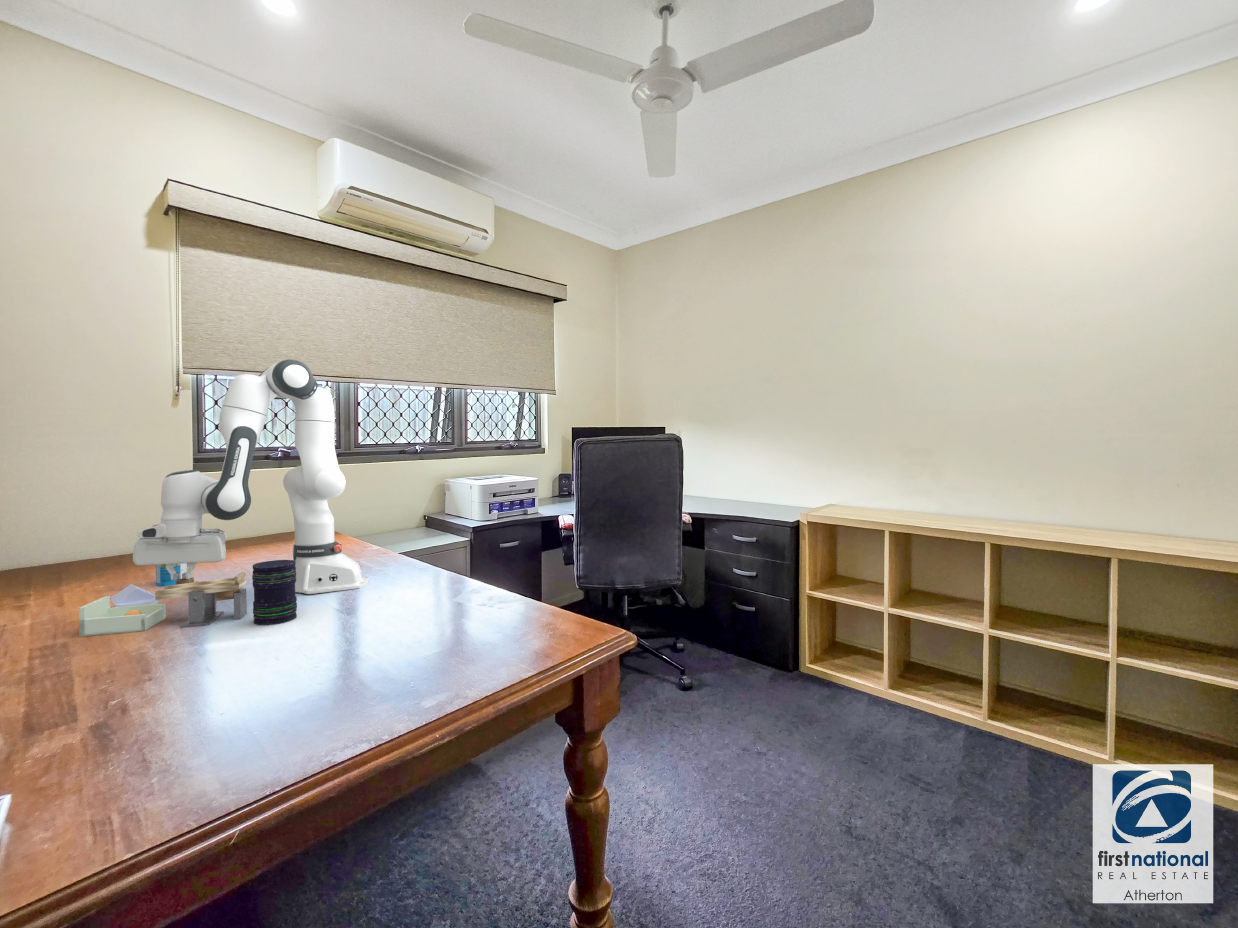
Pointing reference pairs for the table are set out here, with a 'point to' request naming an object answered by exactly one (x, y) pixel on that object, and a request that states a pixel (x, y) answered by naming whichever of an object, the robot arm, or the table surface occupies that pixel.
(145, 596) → the wedge on round base
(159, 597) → the lever
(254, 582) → the dark barrel
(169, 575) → the beverage bottle
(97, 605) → the tray
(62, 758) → the table surface
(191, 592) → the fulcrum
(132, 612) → the ball
